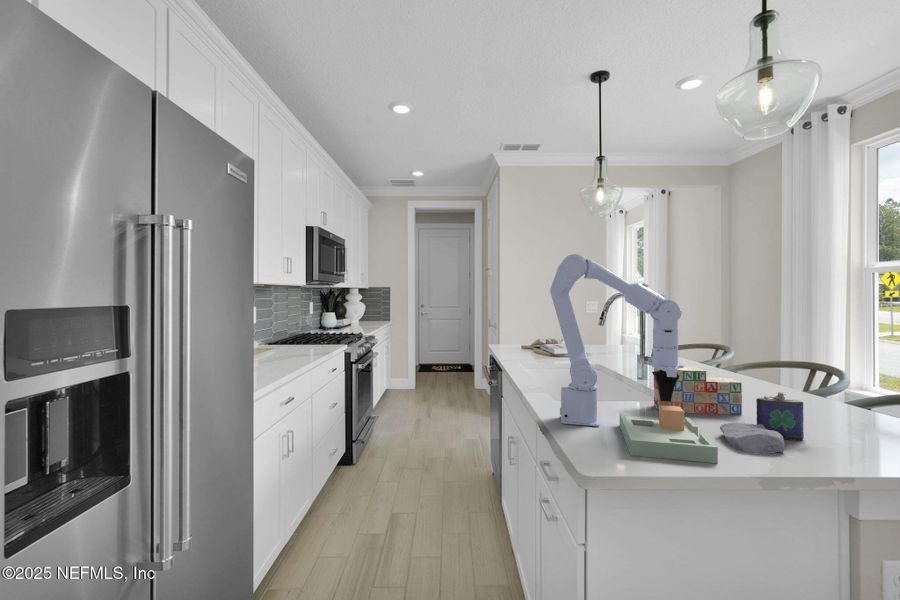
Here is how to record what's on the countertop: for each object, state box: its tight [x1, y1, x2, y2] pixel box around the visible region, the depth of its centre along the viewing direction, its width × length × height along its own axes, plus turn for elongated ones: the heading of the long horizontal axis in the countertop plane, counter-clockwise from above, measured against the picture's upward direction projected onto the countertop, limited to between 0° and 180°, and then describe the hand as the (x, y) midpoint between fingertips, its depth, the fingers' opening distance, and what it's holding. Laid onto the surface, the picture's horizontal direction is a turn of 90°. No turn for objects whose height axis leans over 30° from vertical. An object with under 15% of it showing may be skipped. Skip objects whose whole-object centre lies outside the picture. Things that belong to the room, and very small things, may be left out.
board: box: [619, 412, 719, 464], centre depth 96 cm, size 16×21×3 cm
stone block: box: [719, 421, 785, 454], centre depth 95 cm, size 12×5×10 cm
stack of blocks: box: [653, 366, 743, 416], centre depth 122 cm, size 21×6×12 cm, turn 78°
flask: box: [755, 391, 804, 441], centre depth 99 cm, size 9×3×11 cm, turn 73°
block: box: [658, 405, 685, 431], centre depth 100 cm, size 4×4×4 cm
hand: (665, 400), depth 107 cm, fingers closed
